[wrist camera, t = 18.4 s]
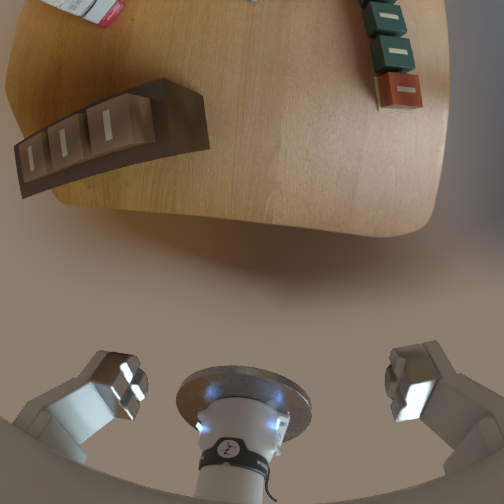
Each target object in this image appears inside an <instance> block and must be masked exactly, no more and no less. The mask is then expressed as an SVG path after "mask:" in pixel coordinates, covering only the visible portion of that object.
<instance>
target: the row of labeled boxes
mask: <svg viewBox="0 0 504 504" xmlns="http://www.w3.org/2000/svg"><path fill="white" fill-rule="evenodd" d="M396 1H397V0H359V4H360V7H365V9H364V11H363V13H362V15H363V19H364V22H365V26H366V30H367V35H368V38H376V39H375V40H374V41H373V42H372V43H371V44H370V48H371V53H372V58H373V63H374V68H375V72H383V73H387V72H396V73H407V72H409V71H411V70H413V69H415V63H414V58H413V53H412V49H411V44H410V40H409V39H406V38H400V37H401V36H403V35H404V34H405V33H407V28H406V25H405V21H404V18H403V15H402V11H401V8H400V6H398V5H393V4H394V3H395V2H396ZM377 78H378V77H374V82H375V89H376V96H377V104H378V111H380V112H400V113H411V109H410V110H406V109H391V108H381V101H380V93H379V86H378V80H377Z"/></svg>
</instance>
